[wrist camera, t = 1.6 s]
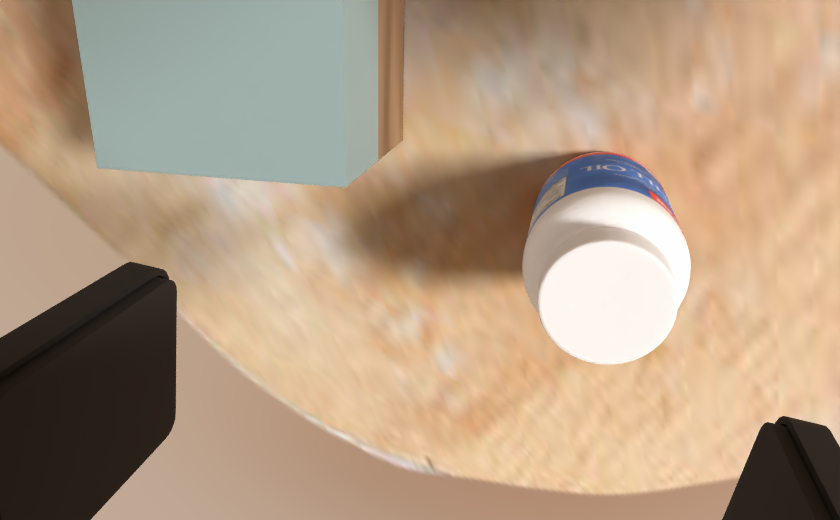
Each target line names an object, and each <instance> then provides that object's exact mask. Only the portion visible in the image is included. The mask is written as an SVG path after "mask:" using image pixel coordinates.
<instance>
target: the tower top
mask: <svg viewBox="0 0 840 520" xmlns="http://www.w3.org/2000/svg"><path fill="white" fill-rule="evenodd" d="M72 6H73V13H74V19H75V26H76V32H77V39H78V45H79V51H80V58H81V64H82V71H83V77H84V84H85V90H86V97H87V103H88V110H89V116H90V123H91V129H92V136H93V142H94V149H95V155H96V162H97V168H103V169H116V170H129V171H142V172H154V173H167V174H180V175H193V176H205V177H218V178H231V179H244V180H256V181H269V182H282V183H295V184H307V185H320V186H333V187H347V186H348V185H349V184H351V183H352V182H353V181H354V180H355V179H357V178H358V177H359V176H360V175H361V174H363V173H364V172H365V171H366V170H367V169H369V168H370V167H371V166H372V165H373V164H375V163H376V162H377V161H378V0H72Z"/></svg>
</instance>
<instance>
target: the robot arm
mask: <svg viewBox="0 0 840 520" xmlns="http://www.w3.org/2000/svg"><path fill="white" fill-rule="evenodd" d="M176 310H177V290H176V285H175V282H174V281H172V280H169V277H168V274H167V272H166V271H165V270H163V269H159V268H155V267H151V266H146V265H142V264H138V263H133V262H129V263H126V264H124V265H122V266H121V267H119V268H117V269H116V270H114V271H112V272H111V273H109V274H107V275H105V276H104V277H102V278H100V279H99V280H97V281H96V282H94V283H92V284H90V285H89V286H87V287H85V288H84V289H82V290H80V291H79V292H77V293H75V294H74V295H72V296H70V297H69V298H67V299H65V300H64V301H62V302H60V303H58V304H57V305H55V306H53V307H52V308H50V309H48V310H47V311H45V312H43V313H42V314H40V315H38V316H37V317H35V318H33V319H31V320H30V321H28V322H26V323H25V324H23V325H21V326H20V327H18V328H17V329H15V330H13V331H11V332H10V333H8V334H6V335H5V336H3V337H1V338H0V520H91V519H92V517H93V516H94V515H95V514H96V513H97V512H98V511H99V510H100V509H101V508H102V506H104V505H105V503H106V502H107V501H108V500H109V499H110V498H111V497H112V496H113V495H114V494H115V493H116V491H118V489H119V488H120V487H121V486H122V485H123V484H124V483H125V482H126V481H127V480H128V479H129V477H130V476H131V475H132V474H133V473H134V472H135V471H136V470H137V469H138V468H139V467H140V466H141V465H142V463H143V462H144V461H145V460H146V459H147V458H148V457H149V456H150V455H151V454H152V453H153V452H154V450H155V449H156V448H157V447H158V446H159V445H160V444H161V443H162V442H163V441H164V440H165V439H166V437H167V436H168V435H169V433H170V431H171V430H172V427H173V424H174V421H175V411H176ZM722 520H840V447H839V445H838V443H837V442H836V440H835V438H834V436H833V435H832V433H831V431H830V430H829V429H828V428H827V427H826V426H823V425H820V424H815V423H811V422H807V421H803V420H798V419H794V418H790V417H786V416H783V417H780V418H779V419H778V420H777V421H776V422H775V424H773V423H769V422H767V423H765V424H764V425H763V426H762V427H761V429H760V431H759V433H758V436H757V438H756V440H755V443H754V445H753V448H752V450H751V452H750V455H749V457H748V460H747V462H746V464H745V467H744V469H743V471H742V474H741V476H740V479H739V481H738V483H737V486H736V488H735V491H734V493H733V495H732V498H731V500H730V503H729V505H728V507H727V510H726V512H725V515H724V517H723V519H722Z"/></svg>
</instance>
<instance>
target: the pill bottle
mask: <svg viewBox="0 0 840 520" xmlns="http://www.w3.org/2000/svg"><path fill="white" fill-rule="evenodd" d="M690 271H691V262H690V255H689V250H688V247H687V243H686V240H685V237H684V235H683V232H682V230H681V228H680V226H679V224H678V221H677V219H676V217H675V215H674V212H673V210H672V208H671V206H670V203H669V201H668V198H667V196H666V194H665V192H664V190H663V187H662V186H661V184H660V182H659V181H658V179H657V178H656V177H655V176H654V175H653V173H652V172H651V171H650V170H649V169H648V168H646V167H645V166H644V165H643V164H641V163H640V162H638V161H637V160H635V159H633V158H631V157H628V156H626V155H622V154H619V153H614V152H593V153H588V154H584V155H580V156H578V157H575V158H573V159H571V160H569V161H567V162H566V163H564V164H563V165H561V166H560V167H559V168H558V169H556V170H555V171H554V172H553V173H552V174H551V175H550V177H549V178H548V179H547V180H546V182H545V183H544V185H543V186H542V188H541V190H540V192H539V194H538V197H537V199H536V202H535V206H534V210H533V215H532V219H531V223H530V227H529V232H528V236H527V239H526V243H525V249H524V254H523V262H522V274H523V281H524V285H525V289H526V292H527V294H528V297H529V299H530V301H531V303H532V304H533V306H534V308H535V309H536V311H537V312H538V313H539V316H540V320H541V322H542V325H543V327H544V329H545V331H546V332H547V334H548V335H549V337H550V338H551V339H552V340H553V341H554V342H555V343H556V344H557V345H558V346H559V347H560V348H561V349H563V350H564V351H565V352H567V353H568V354H570V355H572V356H573V357H576V358H578V359H581V360H584V361H587V362H591V363H596V364H621V363H625V362H629V361H633V360H636V359H638V358H640V357H642V356H644V355H646V354H648V353H649V352H651V351H652V350H654V349H655V348H656V347H657V346H658V345H659V344H660V343H661V342H662V341H663V340H664V339H665V338H666V337H667V335H668V333H669V332H670V330H671V328H672V326H673V324H674V322H675V319H676V315H677V310H678V307H679V306H680V304H681V302H682V301H683V299H684V297H685V294H686V292H687V288H688V285H689V279H690Z"/></svg>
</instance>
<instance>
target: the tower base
mask: <svg viewBox="0 0 840 520" xmlns="http://www.w3.org/2000/svg"><path fill="white" fill-rule="evenodd" d="M403 68H404V0H378V160H379V159H381V158H382V157H383V156H384V155H385V154H387V153H388V152H389V151H390V150H391V149H393V148H394V147H395V146H396V145H397V144H399V143H400V142H401V141H402V140H403Z"/></svg>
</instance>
